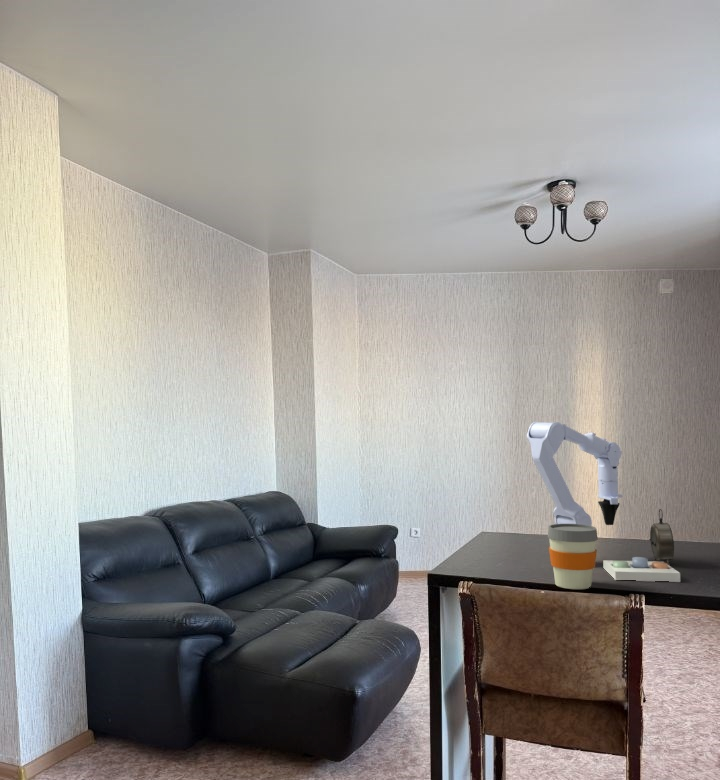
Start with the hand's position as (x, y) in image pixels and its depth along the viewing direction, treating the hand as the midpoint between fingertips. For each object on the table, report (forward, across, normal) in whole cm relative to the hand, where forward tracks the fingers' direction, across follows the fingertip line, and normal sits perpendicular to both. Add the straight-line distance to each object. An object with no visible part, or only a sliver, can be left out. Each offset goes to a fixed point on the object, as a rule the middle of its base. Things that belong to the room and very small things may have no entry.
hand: (609, 524), depth 211 cm
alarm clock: (+11, -5, -14) cm, 18 cm away
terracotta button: (+10, -21, -8) cm, 25 cm away
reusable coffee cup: (+10, -34, +18) cm, 40 cm away
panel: (+10, -21, -3) cm, 24 cm away
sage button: (+10, -21, +2) cm, 24 cm away
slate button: (+9, -21, -3) cm, 23 cm away
